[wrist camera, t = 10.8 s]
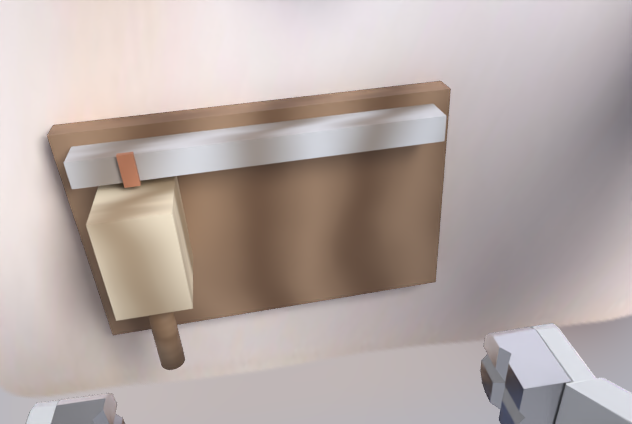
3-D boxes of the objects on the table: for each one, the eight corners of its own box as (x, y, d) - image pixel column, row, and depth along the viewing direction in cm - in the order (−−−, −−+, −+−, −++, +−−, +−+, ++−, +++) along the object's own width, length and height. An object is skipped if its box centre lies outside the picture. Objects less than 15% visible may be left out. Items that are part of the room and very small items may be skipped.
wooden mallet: (175, 168, 31) (172, 213, 26) (205, 316, 36) (207, 373, 32) (101, 177, 30) (85, 225, 26) (143, 327, 36) (136, 385, 32)
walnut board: (440, 81, 33) (467, 102, 29) (427, 269, 40) (448, 303, 37) (53, 125, 30) (36, 154, 27) (115, 319, 37) (108, 361, 34)
